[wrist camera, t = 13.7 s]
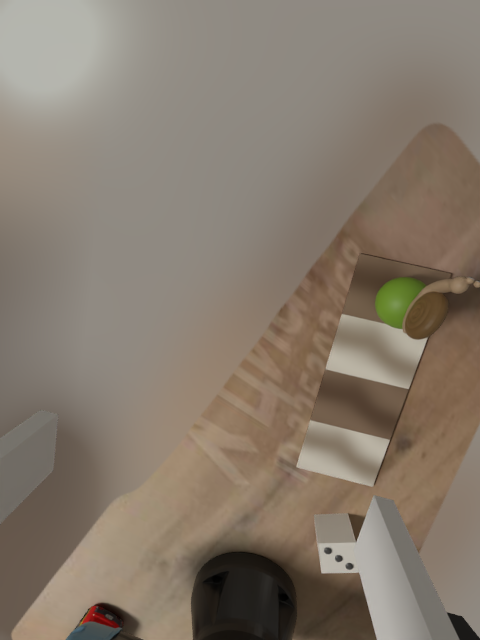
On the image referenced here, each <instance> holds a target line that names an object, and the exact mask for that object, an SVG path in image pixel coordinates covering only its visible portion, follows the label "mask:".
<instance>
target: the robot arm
mask: <svg viewBox="0 0 480 640" xmlns="http://www.w3.org/2000/svg"><path fill="white" fill-rule="evenodd" d="M57 423H58V414H55V413H51V412H48V411H44V410H40V411H38V412H37V413H36V414H34V415H33V416H31V417H30V418H28V419H27V420H26V421H24V422H23V423H21V424H20V425H18V426H17V427H15V428H14V429H13V430H11V431H10V432H8V433H7V434H6V435H4V436H3V437H1V438H0V524H1V523H2V522H3V521H4V520H5V519H6V518H7V517H8V516H9V515H10V514H11V513H12V511H13V510H15V509H16V508H17V506H18V505H20V504H21V502H22V501H23V500H24V499H25V498H26V497H27V496H28V495H29V494H30V493H31V492H32V491H33V490H34V489H35V488H36V487H37V486H38V485H39V484H40V483H41V482H42V481H43V480H44V479H45V478H46V477H47V476H48V475H49V474H50V473H51V472H52V471H53V467H54V457H55V446H56V435H57ZM353 551H354V555H355V558H356V562H357V566H358V570H359V574H360V577H361V581H362V585H363V589H364V593H365V596H366V600H367V604H368V608H369V611H370V615H371V619H372V623H373V627H374V630H375V634H376V638H377V640H480V638H479V637H478V636H477V635H476V633H475V632H474V631H473V630H472V628H471V627H470V626H469V625H468V623H467V622H466V621H465V620H464V618H463V617H462V616H458V615H455V614H451V613H447V612H446V611H445V608H444V606H443V604H442V602H441V600H440V598H439V596H438V593H437V591H436V589H435V587H434V585H433V583H432V581H431V579H430V577H429V575H428V573H427V570H426V568H425V566H424V564H423V562H422V560H421V558H420V556H419V553H418V551H417V549H416V547H415V545H414V543H413V541H412V539H411V537H410V534H409V532H408V530H407V528H406V526H405V524H404V522H403V520H402V518H401V516H400V513H399V511H398V509H397V507H396V505H395V503H394V501H393V500H390V499H387V498H383V497H379V496H375V495H374V496H373V499H372V501H371V504H370V507H369V510H368V512H367V515H366V518H365V520H364V523H363V526H362V528H361V531H360V534H359V536H358V539H357V542H356V544H355V547H354V550H353ZM191 613H192V630H193V640H292V636H293V632H294V628H295V623H296V617H297V605H296V593H295V589H294V586H293V583H292V581H291V580H290V578H289V577H288V575H287V574H286V573H285V572H284V571H283V570H282V569H281V568H280V567H279V566H278V565H276V564H275V563H273V562H272V561H270V560H268V559H266V558H264V557H261V556H258V555H254V554H250V553H228V554H223V555H220V556H217V557H215V558H213V559H211V560H210V561H208V562H207V563H206V564H205V565H204V566H203V567H202V568H201V569H200V571H199V572H198V574H197V576H196V579H195V583H194V587H193V592H192V597H191ZM66 640H143V639H140V638H138V637H135V636H133V635H130V634H128V633H126V632H123V629H122V628H120V627H118V628H116V629H115V628H112V627H109V626H106V625H103V624H100V623H96V622H86V623H84V624H81V625H80V626H78V627H77V628H76V629H75V630H74V631H73V632H72V633H71V634H70V635H69V636H68V637H67V639H66Z"/></svg>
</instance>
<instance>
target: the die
mask: <svg viewBox="0 0 480 640" xmlns="http://www.w3.org/2000/svg"><path fill="white" fill-rule="evenodd" d="M314 520H315V529H316V538H317V546H318V553H319V559H320V566H321V573H359V571H358V566H357V562H356V558H355V555H354V551H353V550H354V547H355V544H356V540H355V537H354V533H353V530H352V526H351V522H350V519H349V515H348V513H342V514H316V515H314Z"/></svg>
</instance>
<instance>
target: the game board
mask: <svg viewBox="0 0 480 640" xmlns="http://www.w3.org/2000/svg"><path fill="white" fill-rule="evenodd" d="M450 276H451V273H446V272H442V271H437V270H433V269H428V268H424V267H419V266H415V265H410V264H405V263H401V262H396V261H392V260H387V259H383V258H378V257H374V256H369V255H364V254H360V255H359V258H358V261H357V265H356V268H355V271H354V275H353V278H352V281H351V285H350V288H349V292H348V295H347V298H346V302H345V305H344V308H343V312H342V315H341V318H340V322H339V325H338V328H337V332H336V335H335V339H334V342H333V345H332V349H331V352H330V355H329V359H328V362H327V365H326V369H325V372H324V375H323V379H322V382H321V386H320V389H319V392H318V396H317V399H316V402H315V406H314V409H313V412H312V416H311V419H310V422H309V426H308V429H307V433H306V436H305V439H304V443H303V446H302V449H301V453H300V456H299V459H298V463H297V468H301V469H305V470H309V471H313V472H317V473H321V474H325V475H329V476H333V477H337V478H340V479H344V480H348V481H352V482H356V483H360V484H364V485H368V486H372V487H373V485H374V482H375V479H376V477H377V474H378V471H379V468H380V466H381V463H382V460H383V458H384V455H385V452H386V449H387V447H388V444H389V441H390V439H391V436H392V433H393V431H394V428H395V425H396V422H397V420H398V417H399V414H400V412H401V409H402V406H403V403H404V401H405V398H406V395H407V393H408V390H409V387H410V385H411V382H412V379H413V376H414V374H415V371H416V368H417V366H418V363H419V360H420V357H421V355H422V352H423V349H424V347H425V344H426V341H427V339H428V337H427V338H424V339H420V340H416V339H412V338H410V337H409V336H408V335H407V334H406V333H403V329H397V328H393V327H391V326H389V325H387V324H385V323H384V322H383V321H382V320H381V319H380V318H379V316H378V314H377V312H376V308H375V299H376V295H377V293H378V291H379V290H380V288H381V287H382V286H383V285H384V284H385V283H387V282H388V281H390V280H392V279H395V278H399V277H411V278H415V279H417V280H419V281H421V282H423V283H424V284H425V285H426V286H428V285H429V284H431V283H433V282H436V281H439V280H444V279H450ZM443 295H444V293H443Z"/></svg>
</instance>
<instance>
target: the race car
mask: <svg viewBox="0 0 480 640" xmlns="http://www.w3.org/2000/svg"><path fill="white" fill-rule="evenodd" d="M86 622H96V623H100V624H103V625H106V626H109V627H112V628H115V629H116V628H118V627H120V628H122V627H123V621H122V620H120V617H119V618H118V616H117V617H116V615H114V614H113V613H111V612H109V611H108V610H106V609H104V608H102V606H101V607H99V606H92V607H91V608H89V609H88V611H87V613H85V615H84V617H83V618H82V619H81V621H80V622H79V624H78V625H77V626H76V628H77V627H78V626H80V625H81V624H84V623H86ZM76 628H75V629H76ZM75 629H74V630H75Z"/></svg>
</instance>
